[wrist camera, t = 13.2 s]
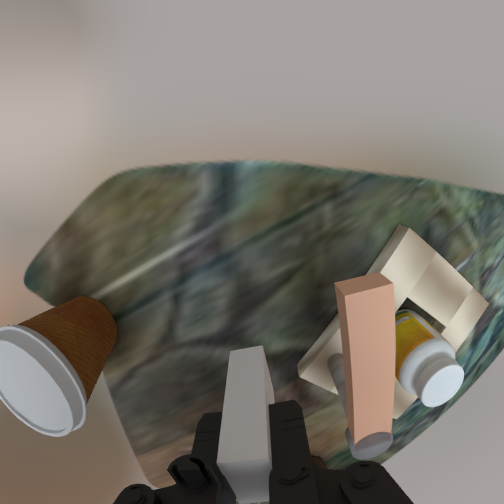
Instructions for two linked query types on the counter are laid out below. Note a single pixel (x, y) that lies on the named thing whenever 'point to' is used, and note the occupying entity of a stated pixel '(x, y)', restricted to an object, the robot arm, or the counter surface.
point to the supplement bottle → (425, 360)
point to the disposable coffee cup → (55, 364)
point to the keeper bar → (368, 361)
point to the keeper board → (405, 285)
